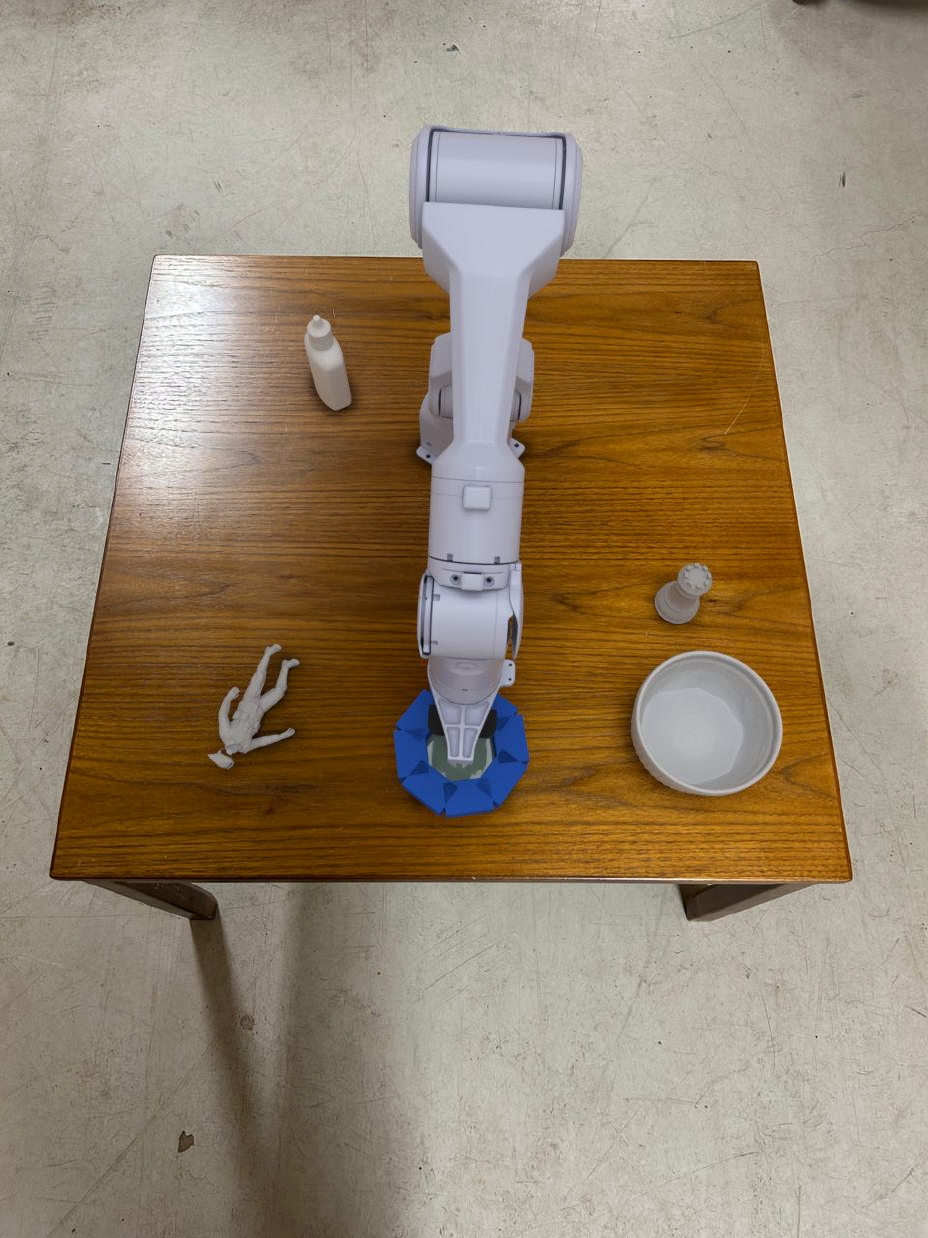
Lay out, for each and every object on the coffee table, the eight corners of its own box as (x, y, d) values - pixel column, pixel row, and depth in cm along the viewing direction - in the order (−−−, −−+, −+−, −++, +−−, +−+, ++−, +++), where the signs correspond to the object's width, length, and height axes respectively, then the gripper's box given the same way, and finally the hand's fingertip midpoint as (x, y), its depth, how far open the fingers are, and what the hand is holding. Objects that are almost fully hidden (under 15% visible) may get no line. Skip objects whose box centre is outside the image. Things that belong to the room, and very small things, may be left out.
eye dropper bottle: (353, 371, 90) (339, 295, 78) (351, 412, 88) (337, 341, 77) (315, 370, 90) (296, 294, 78) (312, 412, 88) (292, 340, 76)
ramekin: (629, 808, 74) (647, 799, 67) (611, 674, 78) (626, 653, 72) (766, 798, 74) (797, 789, 68) (740, 666, 79) (767, 645, 72)
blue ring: (371, 763, 71) (368, 757, 68) (449, 665, 74) (449, 657, 71) (473, 843, 68) (474, 841, 66) (548, 739, 72) (552, 733, 69)
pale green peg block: (416, 800, 73) (413, 789, 66) (418, 717, 76) (415, 697, 69) (501, 800, 74) (507, 789, 66) (500, 717, 76) (506, 698, 69)
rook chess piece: (694, 629, 80) (719, 601, 72) (650, 620, 80) (672, 592, 73) (698, 589, 81) (724, 558, 74) (656, 581, 82) (677, 549, 74)
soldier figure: (322, 678, 78) (276, 783, 71) (292, 687, 81) (245, 789, 74) (266, 631, 74) (211, 738, 67) (236, 643, 77) (180, 746, 70)
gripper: (516, 753, 56) (504, 779, 69) (522, 567, 61) (509, 623, 73) (418, 748, 56) (424, 774, 69) (432, 562, 61) (435, 619, 73)
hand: (463, 696), depth 71 cm, fingers open, 5 cm apart
